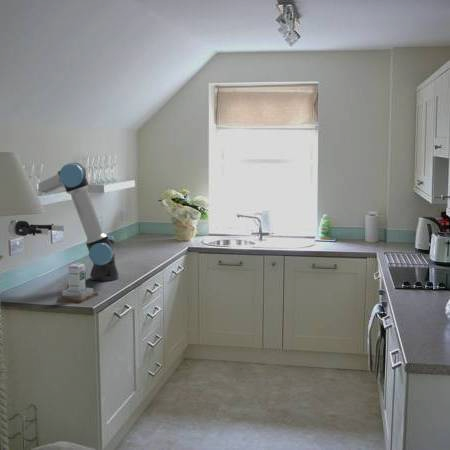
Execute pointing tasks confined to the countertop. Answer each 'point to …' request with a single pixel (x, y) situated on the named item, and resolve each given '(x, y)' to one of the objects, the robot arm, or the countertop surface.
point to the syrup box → (77, 278)
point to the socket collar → (77, 293)
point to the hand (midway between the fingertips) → (55, 230)
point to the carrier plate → (76, 300)
